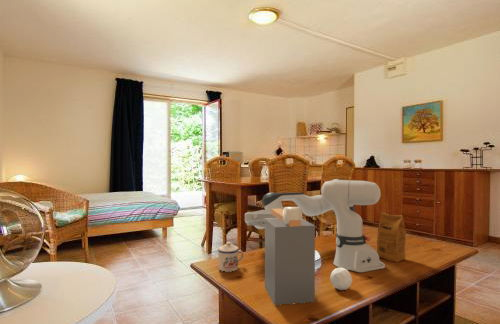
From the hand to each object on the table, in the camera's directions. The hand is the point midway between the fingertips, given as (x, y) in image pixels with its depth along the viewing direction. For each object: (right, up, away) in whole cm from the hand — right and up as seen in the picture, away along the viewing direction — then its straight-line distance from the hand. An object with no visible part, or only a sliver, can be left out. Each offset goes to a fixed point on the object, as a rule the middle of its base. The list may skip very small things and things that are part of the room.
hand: (267, 215), depth 133 cm
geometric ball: (+26, -23, -25) cm, 43 cm away
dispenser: (+6, -23, -30) cm, 38 cm away
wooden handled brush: (+5, +3, -25) cm, 26 cm away
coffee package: (+61, -23, +9) cm, 66 cm away
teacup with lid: (-16, -23, -5) cm, 28 cm away
